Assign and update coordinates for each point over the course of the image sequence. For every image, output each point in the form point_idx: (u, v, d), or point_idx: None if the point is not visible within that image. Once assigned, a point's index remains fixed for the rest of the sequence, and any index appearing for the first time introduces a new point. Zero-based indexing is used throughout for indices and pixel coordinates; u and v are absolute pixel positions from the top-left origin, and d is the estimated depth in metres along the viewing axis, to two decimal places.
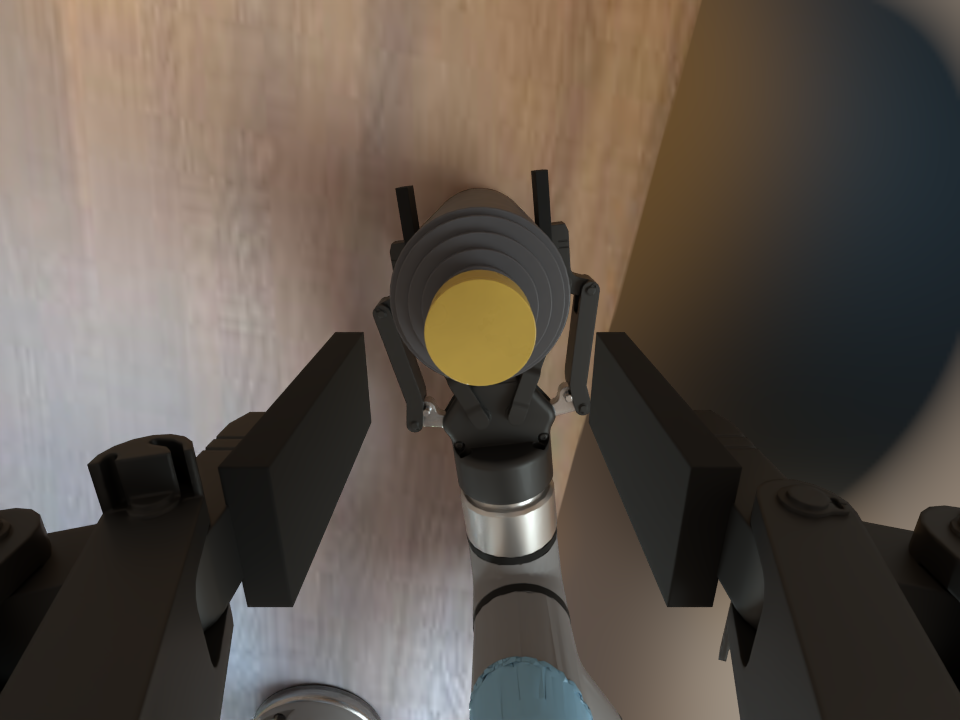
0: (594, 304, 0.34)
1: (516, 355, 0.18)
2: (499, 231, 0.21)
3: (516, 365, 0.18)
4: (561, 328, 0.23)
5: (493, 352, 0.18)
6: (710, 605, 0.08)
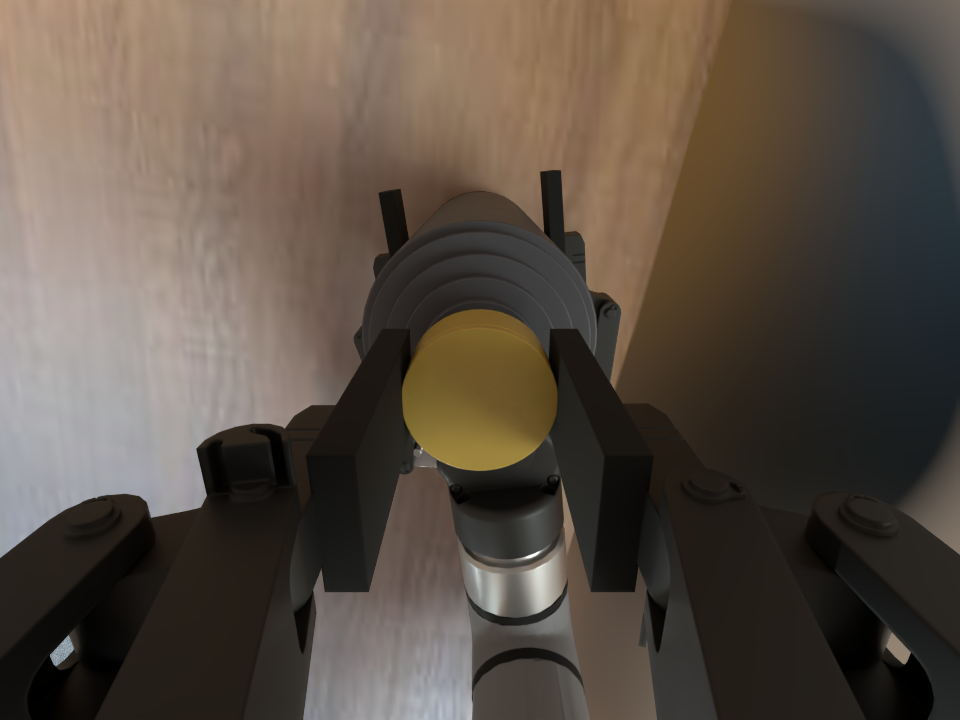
0: (614, 328, 0.29)
1: (530, 431, 0.13)
2: (506, 252, 0.16)
3: (530, 444, 0.13)
4: None
5: (498, 427, 0.13)
6: (633, 591, 0.09)
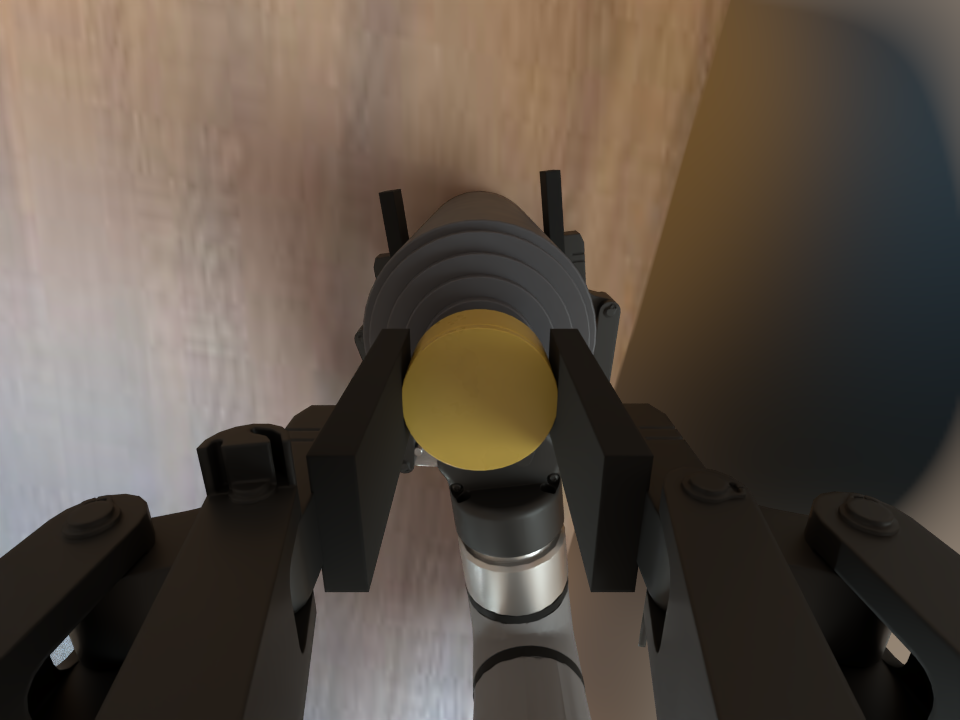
0: (614, 327, 0.29)
1: (466, 347, 0.12)
2: (505, 251, 0.16)
3: (478, 336, 0.12)
4: None
5: (486, 373, 0.12)
6: (632, 591, 0.09)
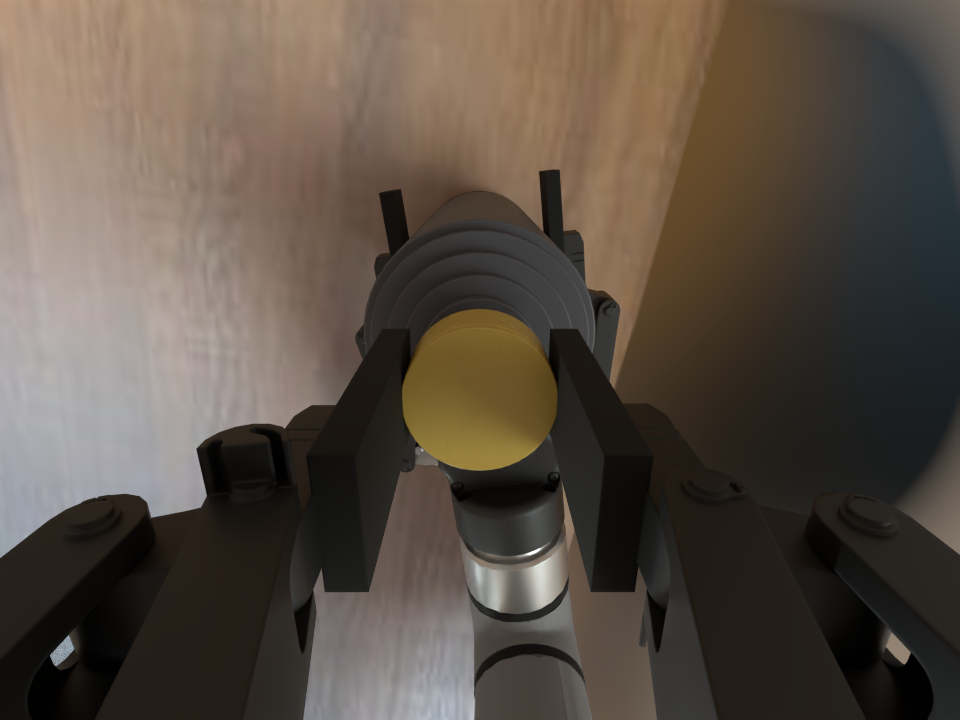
0: (613, 326, 0.29)
1: (445, 446, 0.13)
2: (505, 250, 0.16)
3: (430, 445, 0.13)
4: None
5: (452, 418, 0.13)
6: (633, 591, 0.09)
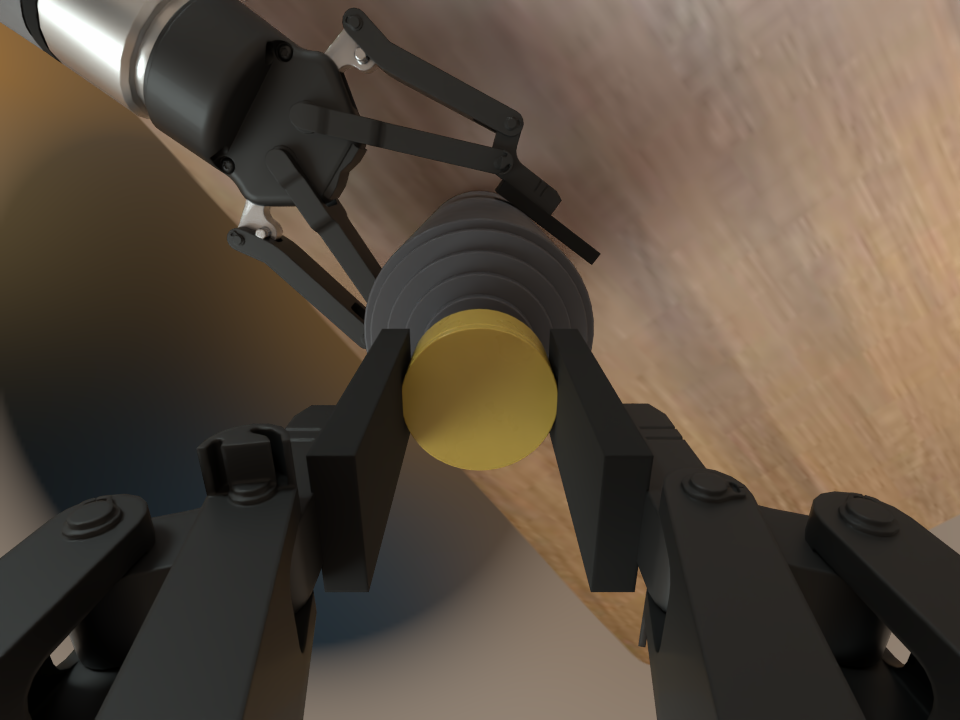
0: (349, 332, 0.29)
1: (445, 446, 0.13)
2: None
3: (430, 445, 0.13)
4: None
5: (452, 418, 0.13)
6: (632, 591, 0.09)
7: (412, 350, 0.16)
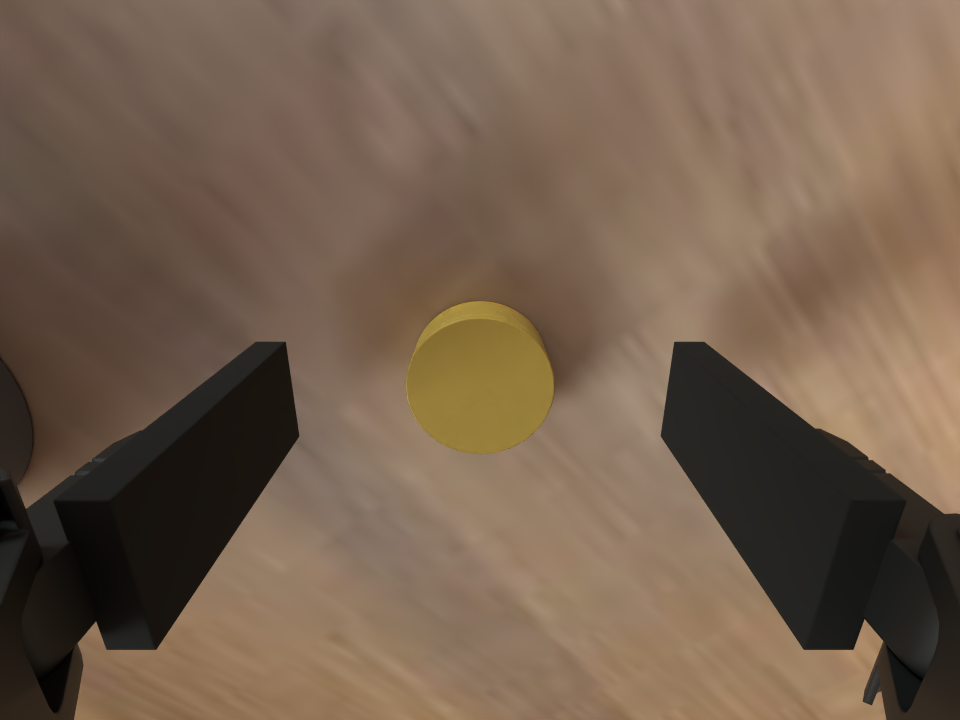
0: None
1: (448, 430, 0.14)
2: None
3: (433, 429, 0.14)
4: None
5: (454, 403, 0.13)
6: (851, 649, 0.08)
7: None
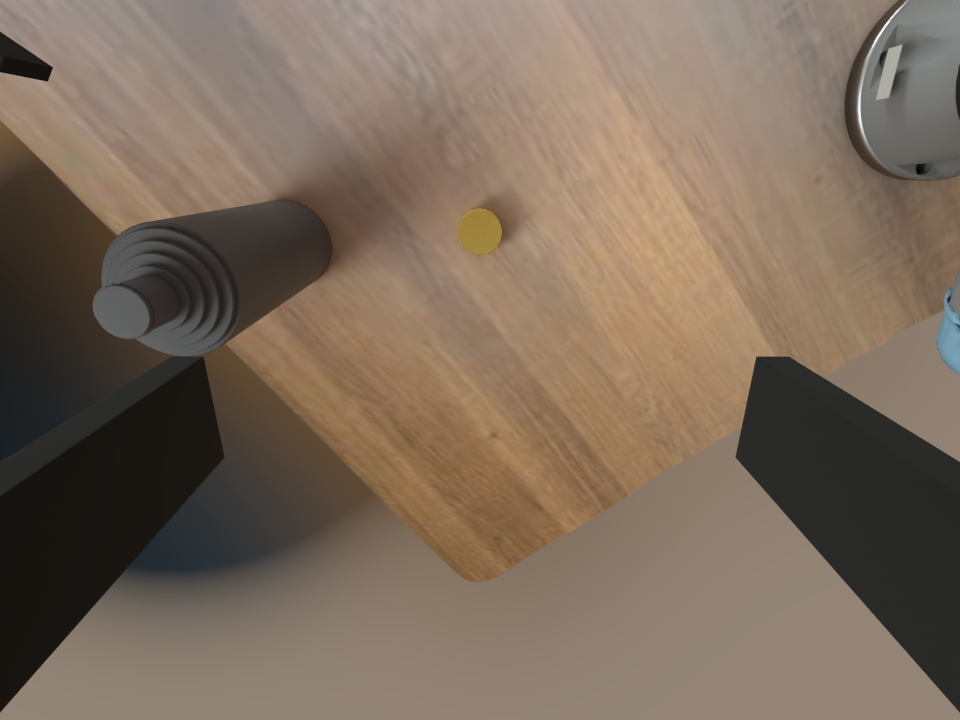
0: None
1: (470, 246, 0.45)
2: (206, 338, 0.30)
3: (466, 246, 0.45)
4: None
5: (472, 237, 0.45)
6: None
7: None
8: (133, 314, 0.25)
